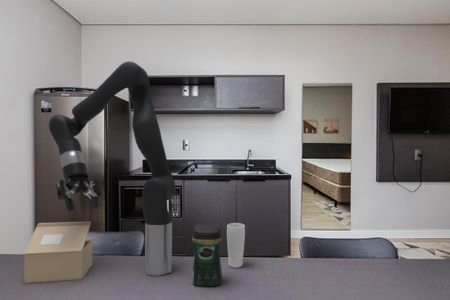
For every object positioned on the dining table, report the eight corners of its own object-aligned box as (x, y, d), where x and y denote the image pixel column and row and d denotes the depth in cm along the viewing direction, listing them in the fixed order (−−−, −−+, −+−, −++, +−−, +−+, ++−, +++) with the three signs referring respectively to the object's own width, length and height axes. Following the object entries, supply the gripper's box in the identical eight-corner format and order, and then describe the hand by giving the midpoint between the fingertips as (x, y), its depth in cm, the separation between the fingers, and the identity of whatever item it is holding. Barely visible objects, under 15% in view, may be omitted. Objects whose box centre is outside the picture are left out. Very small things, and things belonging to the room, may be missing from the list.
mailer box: (92, 264, 105) (92, 240, 105) (81, 279, 93) (81, 252, 93) (41, 267, 102) (41, 242, 102) (24, 283, 90) (24, 255, 90)
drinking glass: (243, 270, 102) (243, 228, 101) (224, 268, 103) (225, 227, 103) (245, 262, 108) (246, 223, 108) (228, 261, 110) (228, 222, 109)
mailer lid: (91, 222, 103) (90, 221, 103) (82, 251, 93) (81, 250, 93) (38, 224, 100) (38, 223, 100) (24, 254, 90) (23, 253, 90)
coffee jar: (222, 276, 96) (222, 222, 96) (221, 288, 89) (221, 228, 88) (193, 275, 97) (194, 221, 97) (190, 287, 89) (190, 228, 89)
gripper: (59, 160, 92) (69, 207, 88) (98, 162, 105) (108, 203, 100) (47, 170, 95) (56, 216, 91) (86, 171, 108) (96, 211, 103)
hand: (84, 209), depth 95 cm, fingers open, 8 cm apart
